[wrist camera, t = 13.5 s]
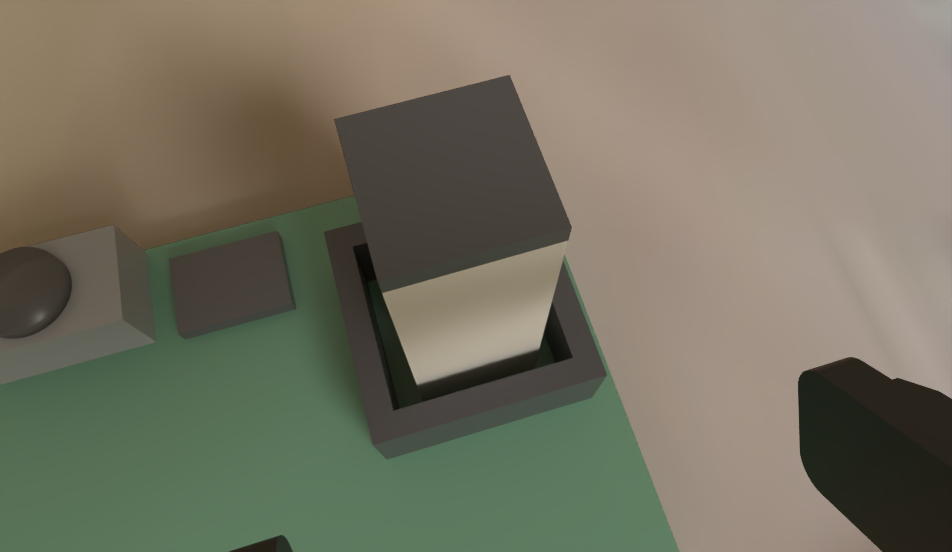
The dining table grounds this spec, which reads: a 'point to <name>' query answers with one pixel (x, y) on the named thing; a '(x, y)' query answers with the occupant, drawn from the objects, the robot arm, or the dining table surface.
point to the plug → (459, 230)
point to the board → (289, 408)
